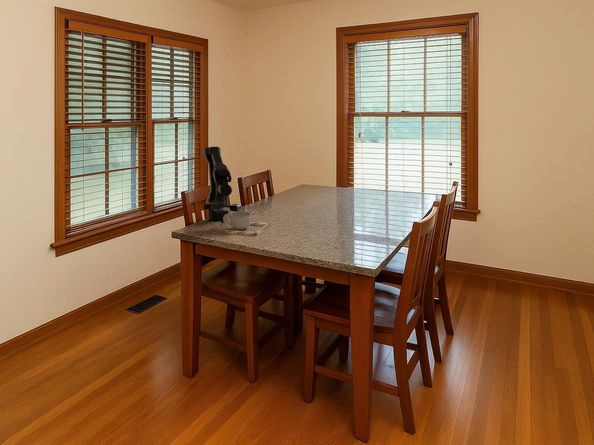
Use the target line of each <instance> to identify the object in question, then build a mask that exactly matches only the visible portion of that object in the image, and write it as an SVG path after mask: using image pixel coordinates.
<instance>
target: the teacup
mask: <svg viewBox="0 0 594 445" xmlns="http://www.w3.org/2000/svg"><path fill="white" fill-rule="evenodd" d="M225 217H228V219H229V221H227V220H226V218H225ZM223 220H224V223H226V224H228V225H229V226H230V227H232V228H233V229H234V230H236V231H244V230H247V229H248V228H249V227H250V226H251V225H250V223H251V220H252V213H251V212H250V211H246V210H239V211H229V214H226V215H224V217H223Z"/></svg>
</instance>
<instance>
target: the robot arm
mask: <svg viewBox="0 0 594 445" xmlns="http://www.w3.org/2000/svg"><path fill="white" fill-rule="evenodd" d="M202 153H203V154H202V155H203V156H204V160H205V162H206V163H207V164H208V176H209V178H208V179H209V187H210V188H209V189H210V191H209V193H208V196H207V199H206V202H204V203H203V204H202V210H208V219H207V221H211V222H212V221H213V222H219V221H220V224H224V223H225V221H224V220H223V217H224V215H226V214H228V213H230V212H233V211H242V205H241V204H240V203H233V204H231V205H229V204H230V202H229V196H230V195H232V192H233V188H232V186H231V185H230V184H229V183H231V182H232V174H231V172H230V169H228V166H227V165H226V164H225V163H224V162H223V158H222V155H221V147H220V146H208V147H206V146H205V148H204V149H203V150H202ZM228 215H229V214H228ZM226 217H227V216H226ZM226 217H225V219H226Z"/></svg>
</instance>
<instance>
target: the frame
mask: <svg viewBox="0 0 594 445" xmlns="http://www.w3.org/2000/svg"><path fill="white" fill-rule="evenodd" d="M250 226H259V227H261V228H259V229H257V230H256V231H244V230H231V229H230V230H229V229H225V230H224V233H225V234H233V235H245V236H246V235H248V236H258V235H260V234H261V233H262V232H264V231H265V230H267V229H268V228H269V227H270V226H271V223H270V222H268V223H267V222H253V221H252V222H251V223H250Z"/></svg>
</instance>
